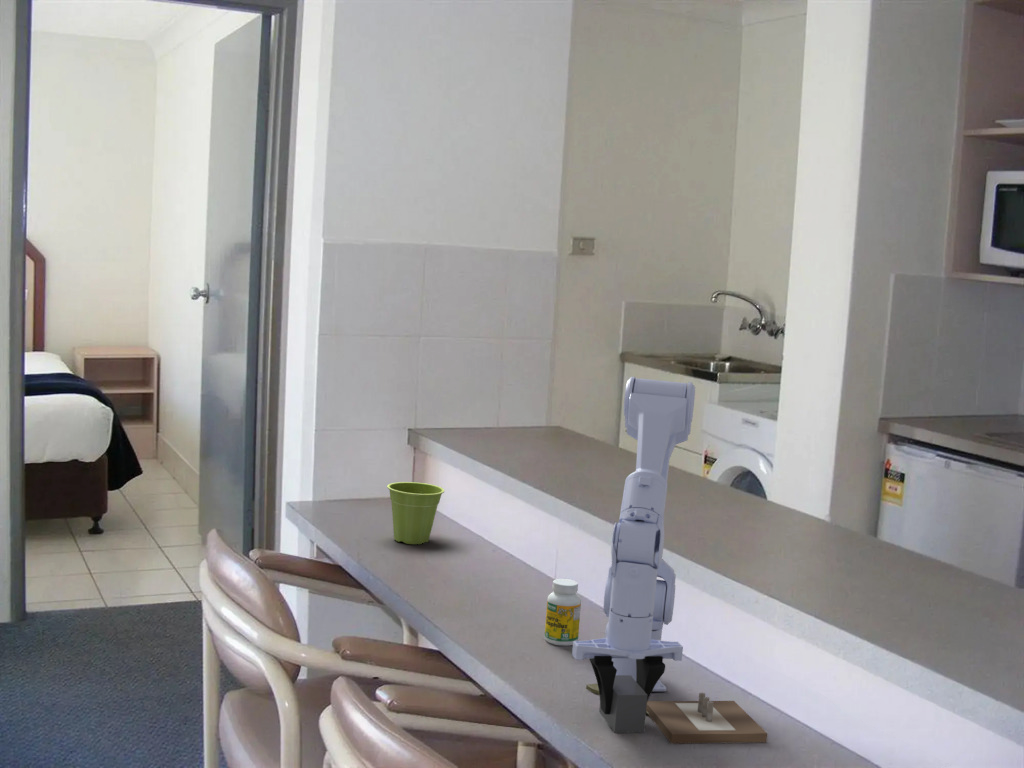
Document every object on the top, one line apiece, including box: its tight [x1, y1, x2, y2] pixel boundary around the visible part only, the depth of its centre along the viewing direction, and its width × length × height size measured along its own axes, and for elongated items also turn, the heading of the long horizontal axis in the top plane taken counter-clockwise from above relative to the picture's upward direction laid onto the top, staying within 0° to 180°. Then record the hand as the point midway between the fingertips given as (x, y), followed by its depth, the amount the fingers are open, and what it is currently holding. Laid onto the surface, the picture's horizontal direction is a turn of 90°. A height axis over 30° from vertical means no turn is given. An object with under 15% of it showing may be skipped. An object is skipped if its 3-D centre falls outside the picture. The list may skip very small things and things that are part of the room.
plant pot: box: [386, 481, 445, 545], centre depth 240 cm, size 12×12×11 cm
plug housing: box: [598, 675, 648, 734], centre depth 154 cm, size 9×4×5 cm, turn 12°
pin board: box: [646, 692, 768, 744], centre depth 154 cm, size 11×13×4 cm
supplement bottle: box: [544, 578, 582, 647], centre depth 183 cm, size 5×5×10 cm
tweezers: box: [585, 683, 650, 717], centre depth 160 cm, size 12×2×1 cm, turn 39°
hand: (622, 711), depth 153 cm, fingers closed on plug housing, 4 cm apart
